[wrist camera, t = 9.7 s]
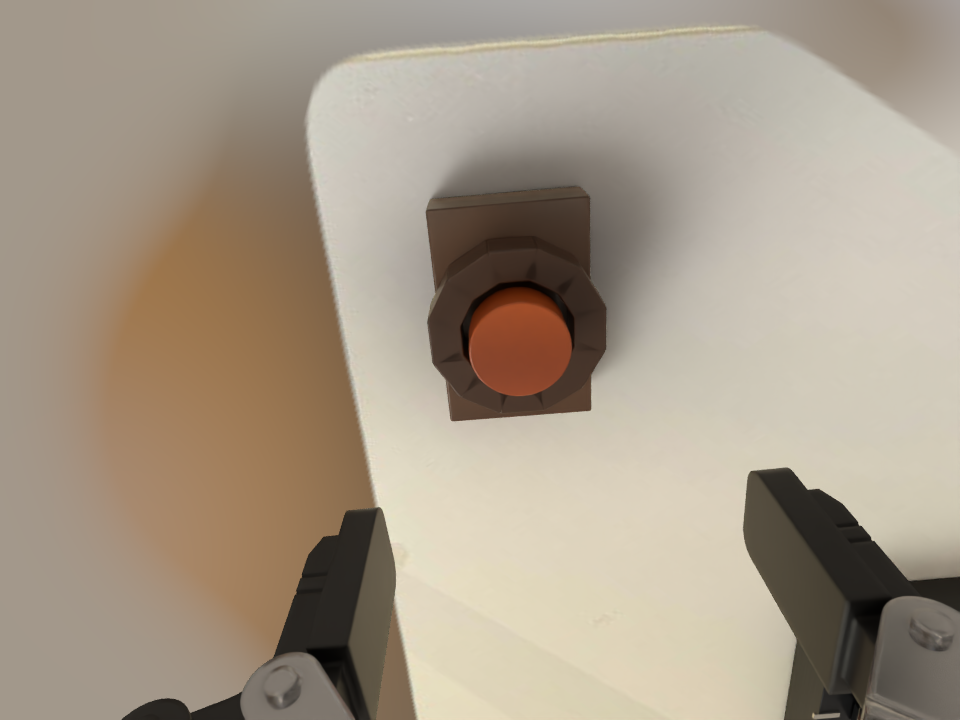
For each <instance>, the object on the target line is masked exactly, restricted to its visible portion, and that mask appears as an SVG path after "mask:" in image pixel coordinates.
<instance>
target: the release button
mask: <svg viewBox="0 0 960 720" xmlns="http://www.w3.org/2000/svg"><path fill="white" fill-rule="evenodd" d="M571 353H572V341H571V336H570V333H569V330H568V328H567V325H566V322H565V319H564V317H563V314H562V312H561V310H560V308H559V307H558V305H557V304H556V303H555V302H554V301H553V300H552V299H551V298H550V297H549V296H547V295H546V294H544V293H542V292H540V291H538V290H535V289H532V288H528V287H510V288H505V289H502V290H499V291H497V292H495V293H493V294H491V295H490V296H488V297H487V298H486V299H485V300H484V301H482V302H481V303H480V305H479V306H478V307H477V309H476V310H475V312H474V314H473V316H472V318H471V322H470V326H469V358H470V362H471V365H472V368H473V370H474V372H475V373H476V375H477V376H478V378H479V379H480V380H481V381H482V382H483V383H484V384H486V385H487V386H488V387H490V388H491V389H493V390H495V391H497V392H500V393H502V394H506V395H511V396H526V395H532V394H535V393H538V392H541V391H543V390H545V389H547V388H548V387H550V386H551V385H553V384H554V383H555V382H556V381H557V380H558V379H559V378H560V377H561V376H562V375H563V373H564V372H565V370H566V368H567V366H568V364H569V361H570V359H571Z"/></svg>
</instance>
